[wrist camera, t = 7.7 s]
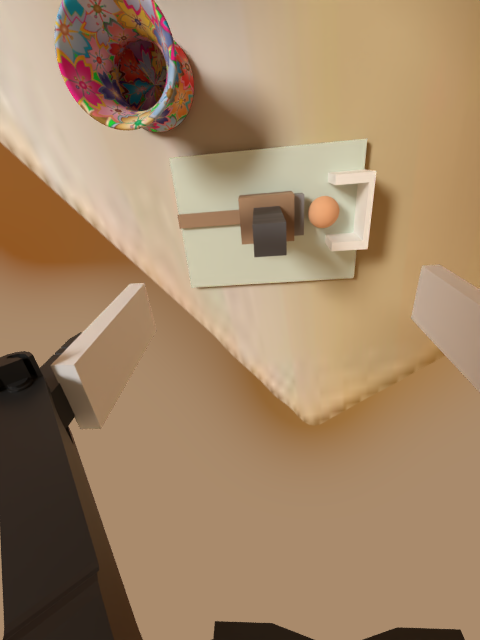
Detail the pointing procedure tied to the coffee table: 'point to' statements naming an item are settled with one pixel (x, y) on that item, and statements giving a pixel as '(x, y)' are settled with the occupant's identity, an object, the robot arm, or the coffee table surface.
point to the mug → (123, 63)
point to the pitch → (254, 178)
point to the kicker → (271, 221)
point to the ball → (323, 212)
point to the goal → (362, 210)
